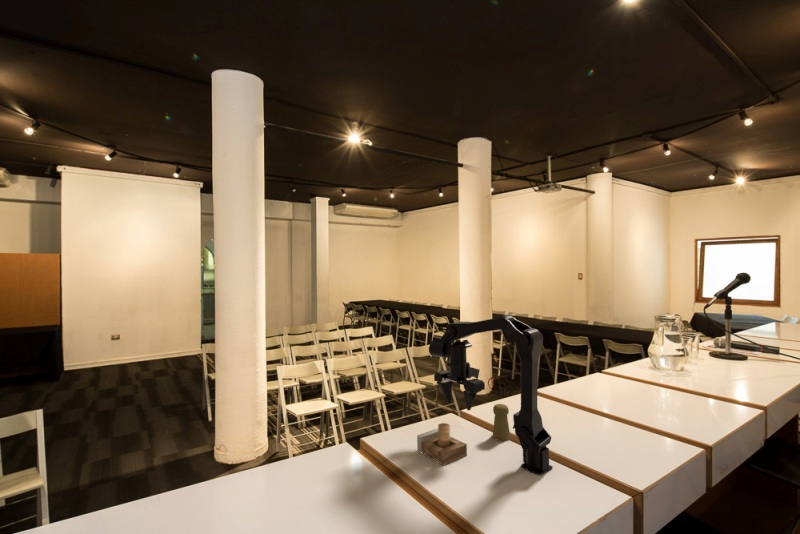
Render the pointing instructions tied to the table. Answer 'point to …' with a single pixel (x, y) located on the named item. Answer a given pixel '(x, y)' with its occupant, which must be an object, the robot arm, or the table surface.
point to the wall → (426, 437)
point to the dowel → (443, 435)
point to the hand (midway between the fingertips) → (458, 406)
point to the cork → (501, 423)
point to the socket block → (444, 450)
